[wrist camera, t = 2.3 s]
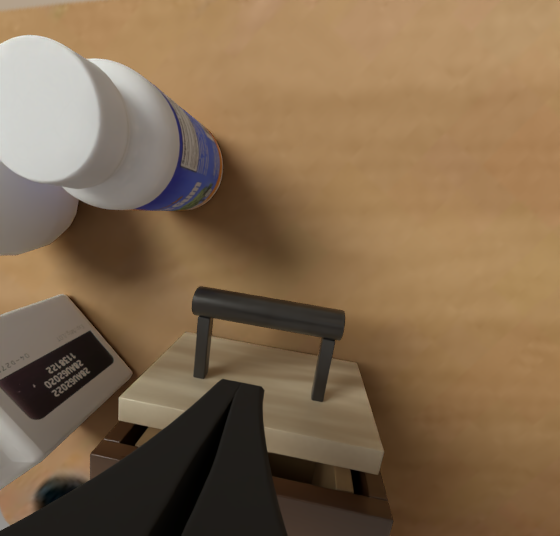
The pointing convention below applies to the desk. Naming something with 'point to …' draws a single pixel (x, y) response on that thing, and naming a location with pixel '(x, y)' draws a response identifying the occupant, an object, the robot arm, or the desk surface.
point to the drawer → (269, 387)
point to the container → (49, 380)
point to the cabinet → (287, 494)
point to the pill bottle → (100, 131)
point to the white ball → (31, 213)
